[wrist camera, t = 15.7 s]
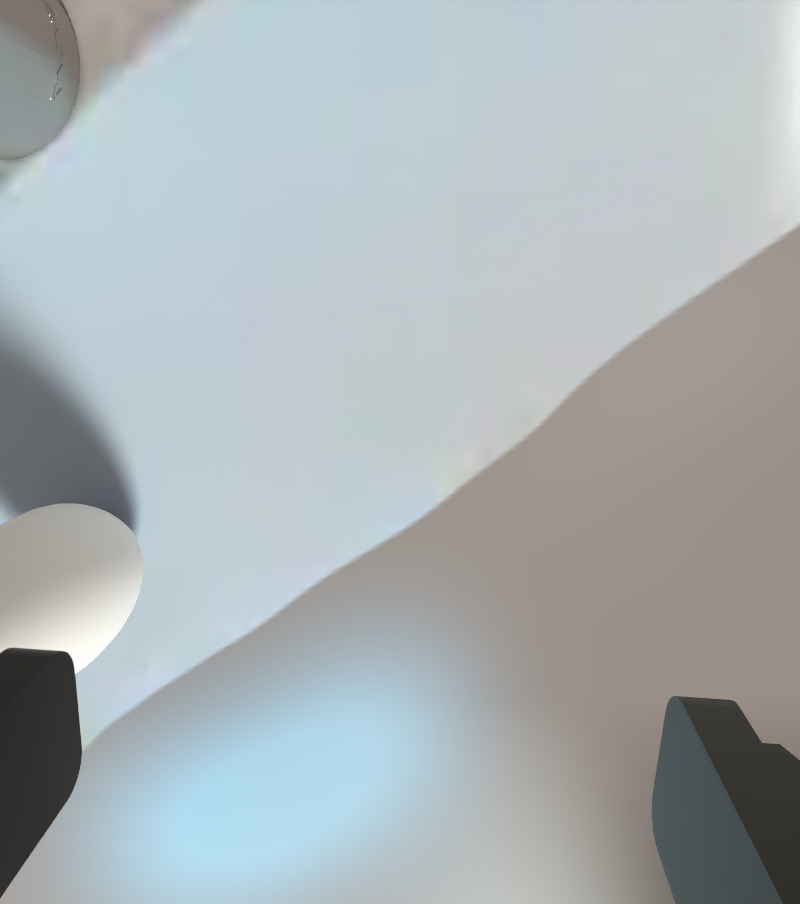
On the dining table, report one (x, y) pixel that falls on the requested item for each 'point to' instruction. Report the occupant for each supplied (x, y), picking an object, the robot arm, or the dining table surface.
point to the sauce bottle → (67, 580)
